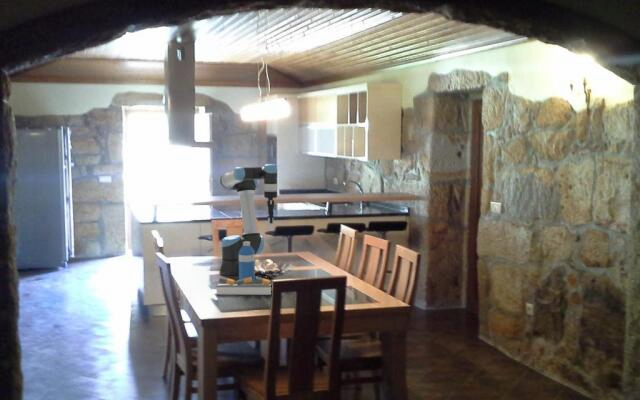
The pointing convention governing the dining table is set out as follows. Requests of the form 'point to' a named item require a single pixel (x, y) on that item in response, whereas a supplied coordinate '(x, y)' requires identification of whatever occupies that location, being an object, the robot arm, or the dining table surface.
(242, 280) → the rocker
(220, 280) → the rocker
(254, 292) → the power strip
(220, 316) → the dining table surface
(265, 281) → the rocker
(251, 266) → the water bottle
